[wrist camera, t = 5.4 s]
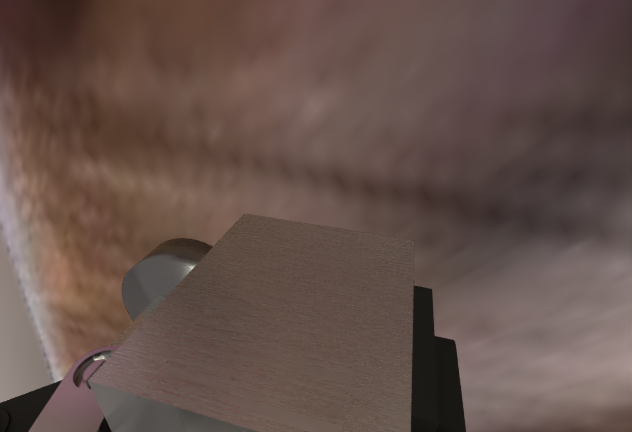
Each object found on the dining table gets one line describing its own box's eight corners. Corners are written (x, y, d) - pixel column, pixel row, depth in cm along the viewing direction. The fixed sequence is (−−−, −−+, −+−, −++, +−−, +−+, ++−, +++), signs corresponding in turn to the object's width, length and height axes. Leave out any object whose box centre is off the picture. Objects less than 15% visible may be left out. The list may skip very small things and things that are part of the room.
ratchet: (245, 247, 23) (178, 334, 16) (256, 423, 31) (216, 528, 25) (139, 230, 24) (36, 303, 17) (178, 403, 33) (119, 497, 26)
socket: (414, 240, 10) (410, 477, 5) (389, 362, 12) (369, 602, 7) (244, 213, 11) (88, 380, 6) (254, 331, 13) (152, 519, 8)
